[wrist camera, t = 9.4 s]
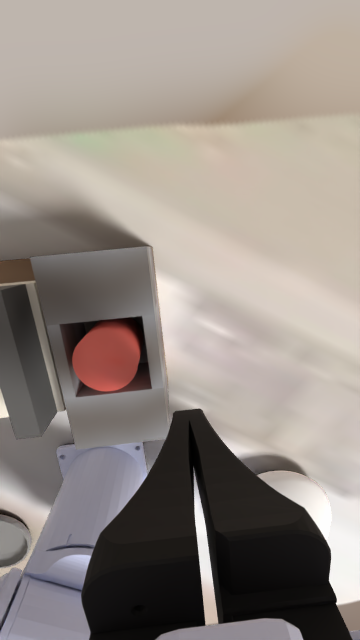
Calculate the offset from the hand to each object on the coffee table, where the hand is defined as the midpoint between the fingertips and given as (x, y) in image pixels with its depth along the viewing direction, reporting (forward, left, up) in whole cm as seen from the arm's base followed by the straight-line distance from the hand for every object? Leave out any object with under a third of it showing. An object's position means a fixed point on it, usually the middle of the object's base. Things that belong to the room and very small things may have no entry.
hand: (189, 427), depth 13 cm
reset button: (+3, +4, -7) cm, 8 cm away
